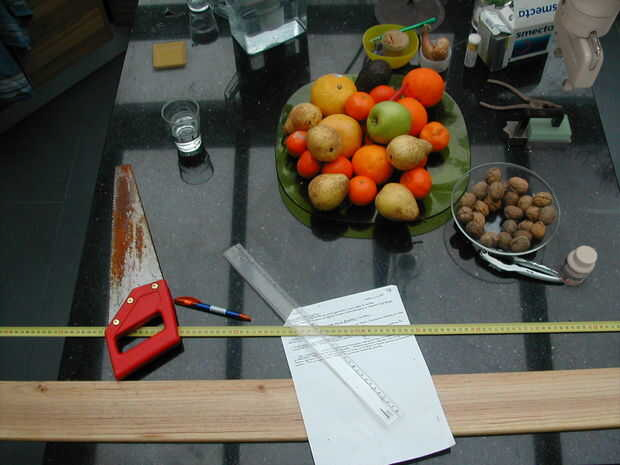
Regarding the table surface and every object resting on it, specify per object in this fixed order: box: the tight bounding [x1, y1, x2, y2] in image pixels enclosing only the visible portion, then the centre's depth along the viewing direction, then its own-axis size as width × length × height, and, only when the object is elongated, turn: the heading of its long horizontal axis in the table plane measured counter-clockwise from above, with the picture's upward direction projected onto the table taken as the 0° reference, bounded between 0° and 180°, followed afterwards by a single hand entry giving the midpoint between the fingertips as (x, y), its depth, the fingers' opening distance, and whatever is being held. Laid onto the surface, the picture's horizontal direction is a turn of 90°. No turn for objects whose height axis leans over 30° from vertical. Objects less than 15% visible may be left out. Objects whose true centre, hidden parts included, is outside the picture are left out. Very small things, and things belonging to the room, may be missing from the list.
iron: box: [499, 108, 573, 151], centre depth 132 cm, size 15×7×10 cm, turn 88°
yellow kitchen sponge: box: [152, 40, 187, 69], centre depth 151 cm, size 9×9×2 cm
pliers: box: [479, 79, 564, 111], centre depth 142 cm, size 10×1×20 cm
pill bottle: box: [557, 245, 598, 286], centre depth 113 cm, size 5×5×9 cm
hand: (562, 71), depth 117 cm, fingers open, 8 cm apart
